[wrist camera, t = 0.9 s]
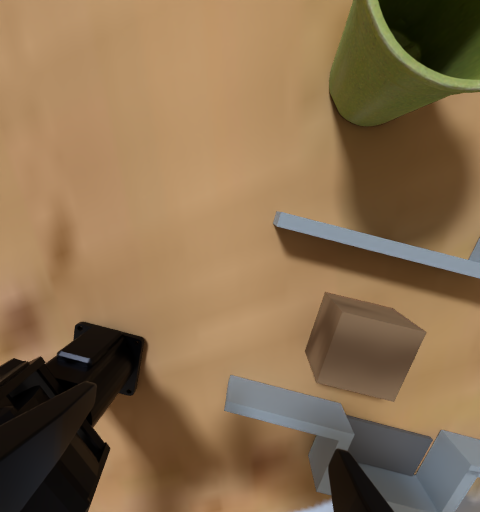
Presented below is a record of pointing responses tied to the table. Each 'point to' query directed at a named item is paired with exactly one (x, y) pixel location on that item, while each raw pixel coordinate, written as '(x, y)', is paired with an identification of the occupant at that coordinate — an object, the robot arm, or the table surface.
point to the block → (362, 346)
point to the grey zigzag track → (362, 431)
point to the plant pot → (404, 57)
